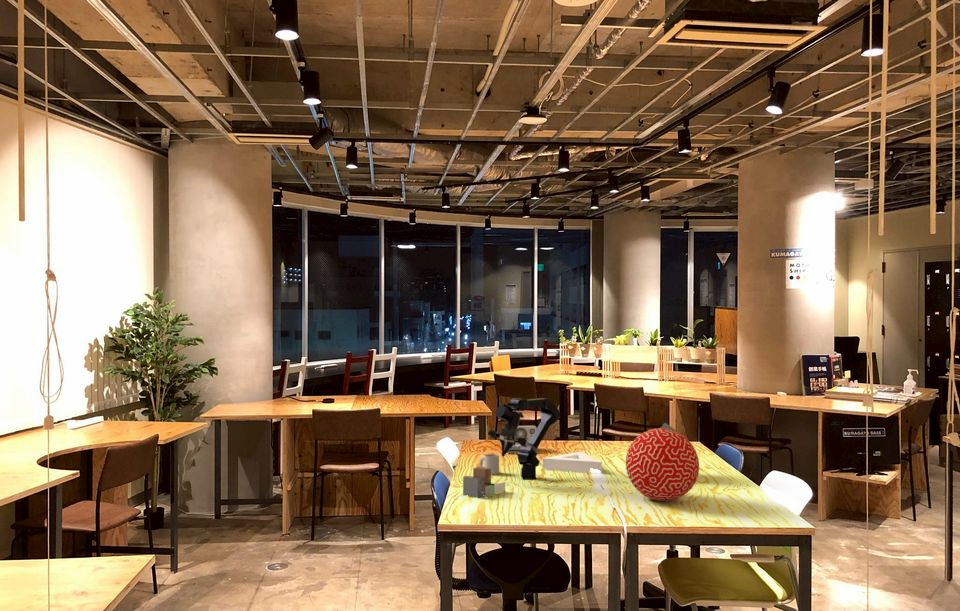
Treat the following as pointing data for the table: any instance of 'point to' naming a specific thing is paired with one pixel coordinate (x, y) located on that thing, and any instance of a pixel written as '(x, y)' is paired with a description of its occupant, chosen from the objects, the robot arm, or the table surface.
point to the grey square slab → (472, 486)
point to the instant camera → (524, 433)
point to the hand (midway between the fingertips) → (502, 456)
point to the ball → (662, 464)
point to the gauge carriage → (483, 476)
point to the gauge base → (493, 489)
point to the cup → (491, 462)
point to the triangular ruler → (572, 462)
